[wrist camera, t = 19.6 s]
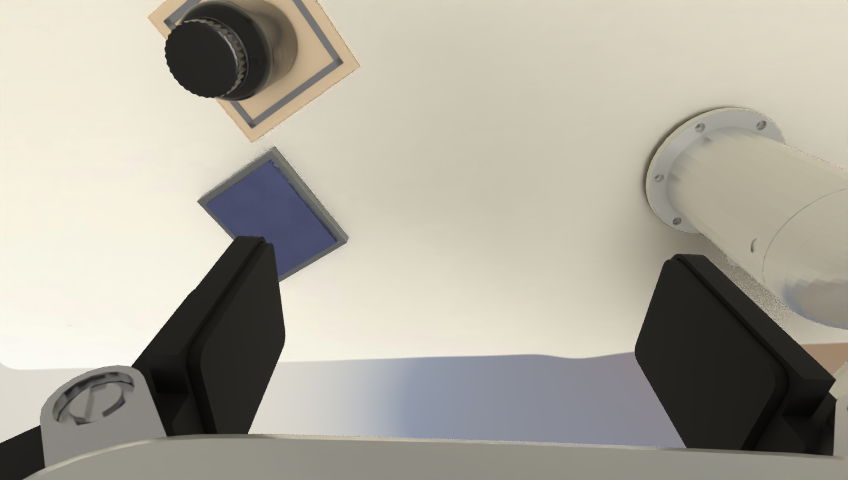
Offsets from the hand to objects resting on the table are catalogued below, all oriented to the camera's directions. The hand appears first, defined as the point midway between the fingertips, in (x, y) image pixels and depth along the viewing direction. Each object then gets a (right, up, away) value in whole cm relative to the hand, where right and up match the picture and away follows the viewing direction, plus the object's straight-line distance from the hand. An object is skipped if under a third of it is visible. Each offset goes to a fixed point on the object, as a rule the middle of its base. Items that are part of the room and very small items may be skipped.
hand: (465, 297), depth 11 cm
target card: (-16, +19, +29) cm, 38 cm away
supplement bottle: (-15, +19, +29) cm, 38 cm away
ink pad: (-17, +4, +37) cm, 41 cm away
